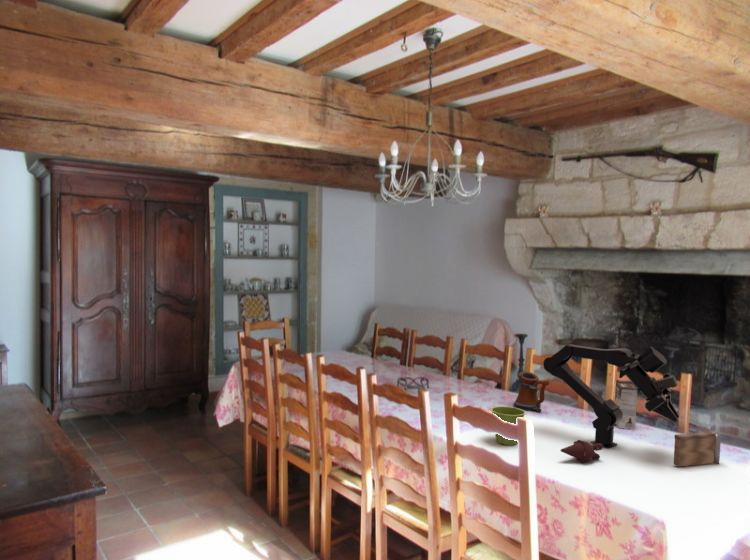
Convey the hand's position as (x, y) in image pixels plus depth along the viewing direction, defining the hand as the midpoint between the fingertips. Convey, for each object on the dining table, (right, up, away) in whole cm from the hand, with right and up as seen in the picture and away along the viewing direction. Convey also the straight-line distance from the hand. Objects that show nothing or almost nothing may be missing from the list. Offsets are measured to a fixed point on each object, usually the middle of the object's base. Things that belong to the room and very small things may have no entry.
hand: (677, 419), depth 183 cm
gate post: (+12, -14, -1) cm, 18 cm away
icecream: (-32, -13, -3) cm, 35 cm away
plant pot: (-53, -12, +13) cm, 55 cm away
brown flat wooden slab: (+4, -13, -3) cm, 14 cm away
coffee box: (-1, -12, +37) cm, 39 cm away
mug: (-32, -10, +57) cm, 66 cm away
